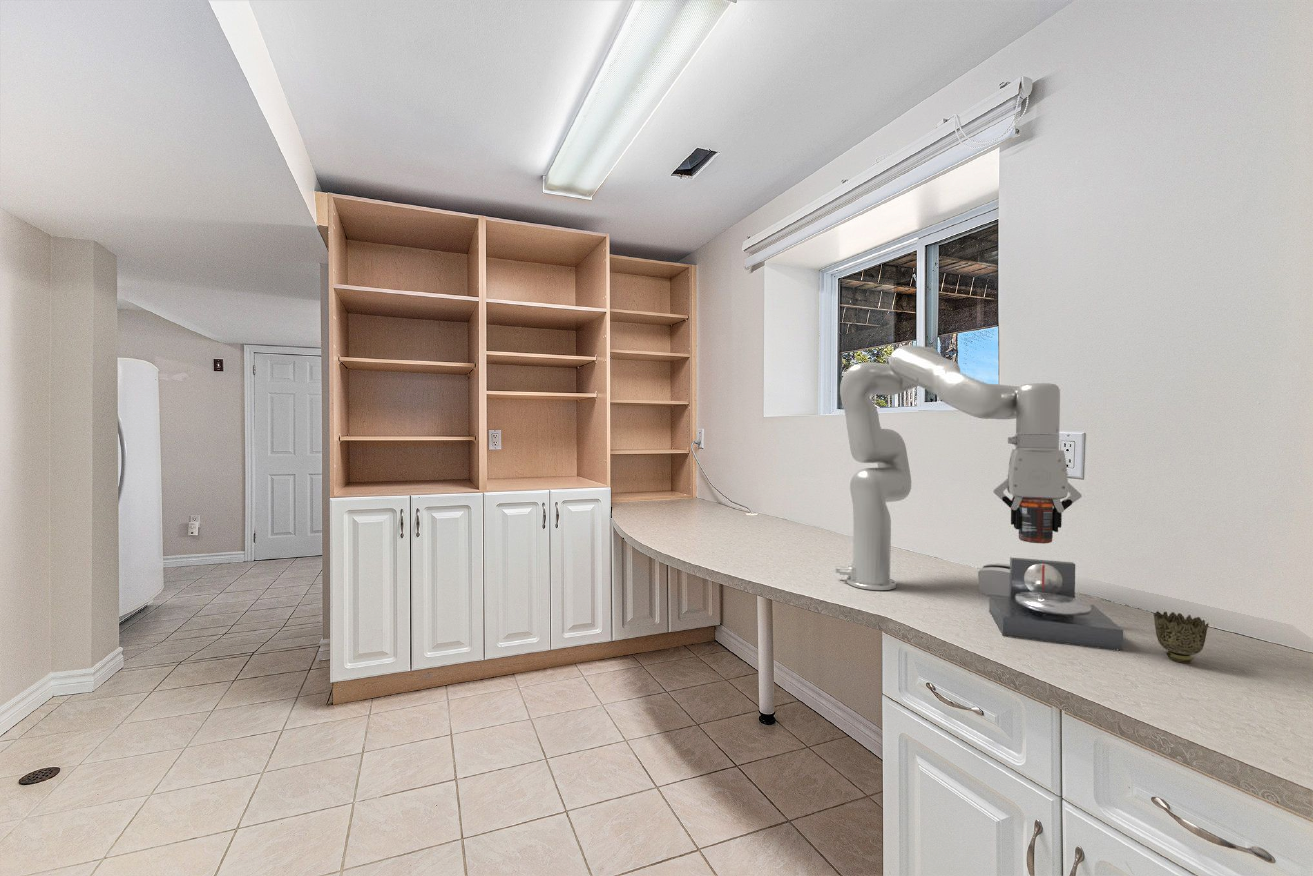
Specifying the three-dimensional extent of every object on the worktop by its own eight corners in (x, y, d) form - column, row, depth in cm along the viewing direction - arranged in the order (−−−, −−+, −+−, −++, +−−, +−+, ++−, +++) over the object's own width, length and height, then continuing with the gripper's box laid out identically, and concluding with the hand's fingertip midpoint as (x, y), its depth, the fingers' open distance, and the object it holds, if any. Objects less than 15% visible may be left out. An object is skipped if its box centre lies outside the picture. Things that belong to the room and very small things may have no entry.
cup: (1212, 672, 101) (1213, 627, 101) (1157, 662, 105) (1158, 619, 104) (1200, 658, 107) (1201, 615, 107) (1149, 649, 111) (1150, 608, 111)
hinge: (1059, 607, 137) (1053, 569, 135) (1049, 616, 135) (1043, 578, 133) (988, 589, 152) (982, 555, 150) (979, 598, 149) (972, 563, 147)
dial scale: (1002, 635, 118) (1004, 572, 117) (989, 611, 133) (990, 555, 133) (1122, 650, 110) (1124, 583, 110) (1093, 623, 126) (1094, 564, 126)
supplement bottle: (1055, 541, 119) (1056, 487, 119) (1049, 545, 115) (1050, 489, 115) (1022, 537, 124) (1023, 485, 123) (1014, 541, 119) (1016, 486, 119)
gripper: (991, 442, 119) (990, 529, 119) (1093, 444, 112) (1091, 536, 113) (987, 442, 126) (985, 524, 126) (1082, 443, 119) (1080, 530, 119)
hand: (1035, 528), depth 119 cm, fingers closed on supplement bottle, 6 cm apart
